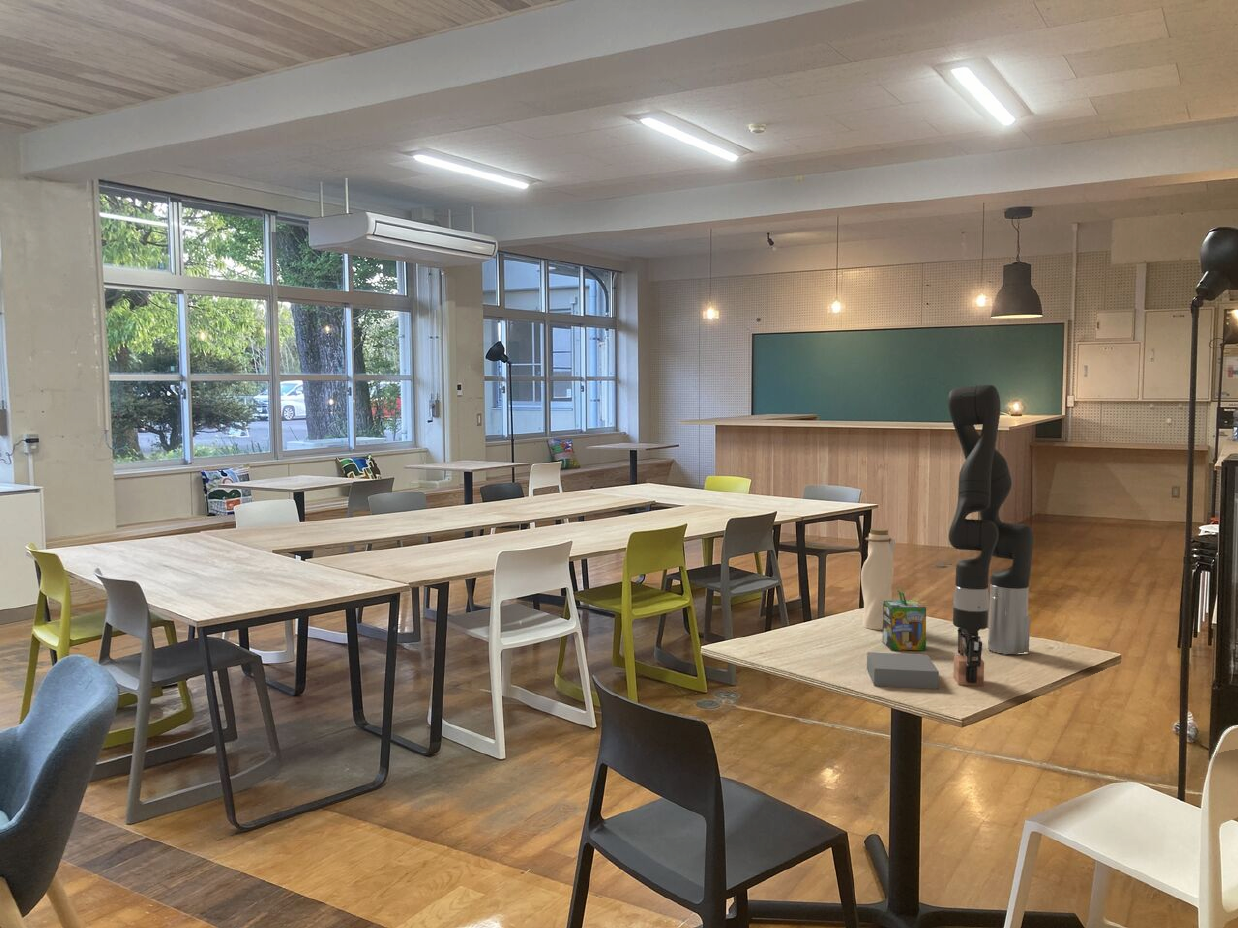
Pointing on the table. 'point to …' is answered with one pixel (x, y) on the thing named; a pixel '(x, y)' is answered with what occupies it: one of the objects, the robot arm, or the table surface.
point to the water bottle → (877, 577)
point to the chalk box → (904, 624)
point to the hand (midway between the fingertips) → (968, 678)
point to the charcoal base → (902, 670)
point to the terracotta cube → (960, 671)
